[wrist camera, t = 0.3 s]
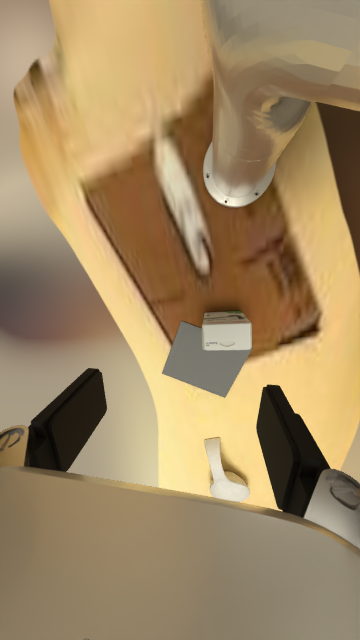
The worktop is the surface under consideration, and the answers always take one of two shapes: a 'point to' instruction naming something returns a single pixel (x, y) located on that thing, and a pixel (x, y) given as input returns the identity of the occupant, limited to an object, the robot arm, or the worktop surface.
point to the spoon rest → (224, 476)
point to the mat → (203, 362)
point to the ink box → (226, 331)
